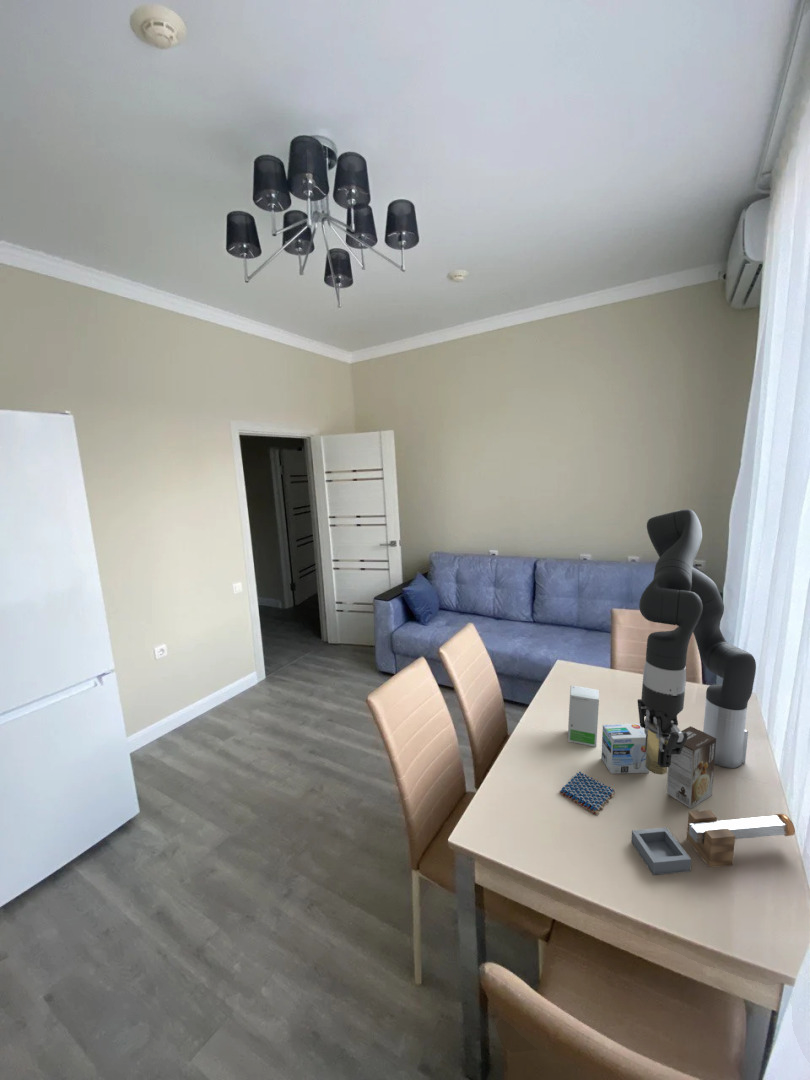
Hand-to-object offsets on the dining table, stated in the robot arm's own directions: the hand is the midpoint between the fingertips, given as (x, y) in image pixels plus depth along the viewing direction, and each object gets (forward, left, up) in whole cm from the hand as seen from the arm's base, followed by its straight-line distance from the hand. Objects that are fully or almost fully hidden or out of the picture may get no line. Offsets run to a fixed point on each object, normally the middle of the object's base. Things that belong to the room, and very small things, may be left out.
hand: (657, 758), depth 93 cm
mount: (-12, +2, -22) cm, 25 cm away
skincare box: (-3, -39, -22) cm, 45 cm away
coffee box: (-19, -14, -22) cm, 32 cm away
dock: (-1, +2, -22) cm, 22 cm away
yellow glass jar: (0, 0, -2) cm, 2 cm away
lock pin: (-18, +2, -19) cm, 26 cm away
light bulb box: (-9, -26, -23) cm, 36 cm away
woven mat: (+6, -17, -23) cm, 29 cm away
